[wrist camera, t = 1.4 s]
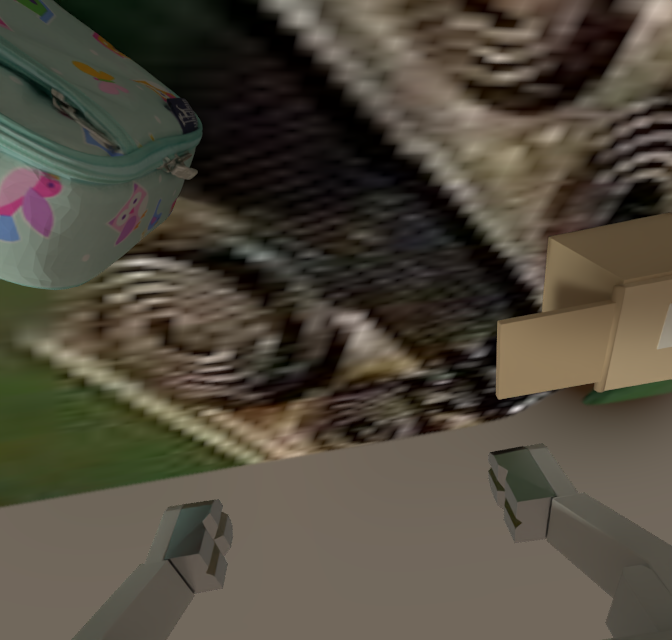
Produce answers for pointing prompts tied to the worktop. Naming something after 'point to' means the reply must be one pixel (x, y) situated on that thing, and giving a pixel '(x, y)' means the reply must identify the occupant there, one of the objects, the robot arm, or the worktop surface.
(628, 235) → the mailer box
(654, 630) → the robot arm
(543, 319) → the lid
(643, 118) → the worktop surface
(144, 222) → the lunch box
